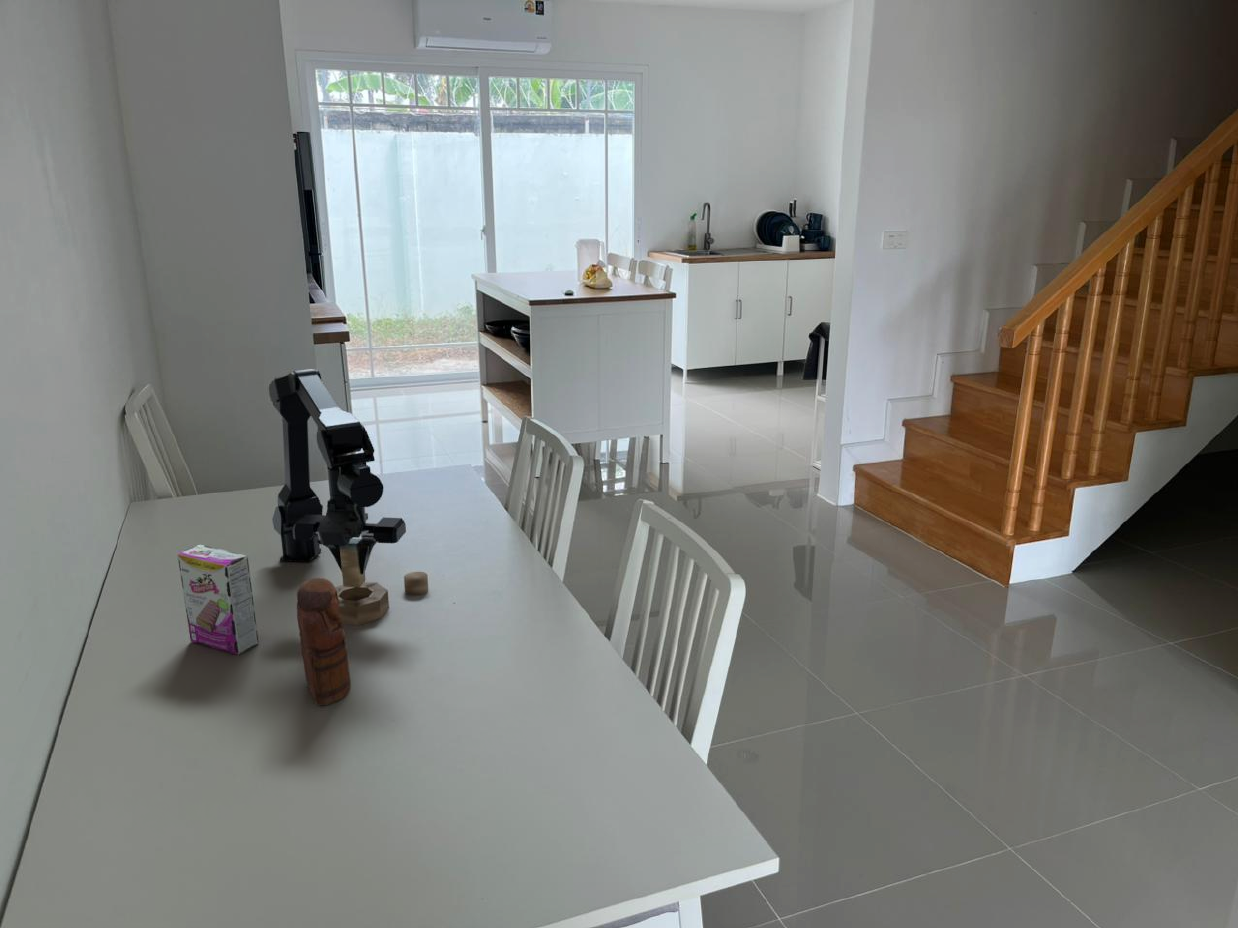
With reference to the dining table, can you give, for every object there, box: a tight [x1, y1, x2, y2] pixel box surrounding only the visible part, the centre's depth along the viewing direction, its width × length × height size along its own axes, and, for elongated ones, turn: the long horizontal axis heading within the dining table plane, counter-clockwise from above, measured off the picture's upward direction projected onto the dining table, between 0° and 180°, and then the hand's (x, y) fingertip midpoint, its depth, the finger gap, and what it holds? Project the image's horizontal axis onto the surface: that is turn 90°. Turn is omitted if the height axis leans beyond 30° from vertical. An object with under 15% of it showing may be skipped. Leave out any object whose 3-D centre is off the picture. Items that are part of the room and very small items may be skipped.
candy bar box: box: [177, 544, 259, 656], centre depth 157 cm, size 11×5×16 cm, turn 65°
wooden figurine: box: [296, 577, 351, 706], centre depth 144 cm, size 12×6×18 cm, turn 26°
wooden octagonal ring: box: [334, 581, 390, 626], centre depth 171 cm, size 10×10×4 cm
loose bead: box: [403, 571, 429, 596], centre depth 180 cm, size 4×4×3 cm
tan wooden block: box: [340, 538, 366, 587], centre depth 169 cm, size 3×3×8 cm
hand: (353, 573), depth 169 cm, fingers closed on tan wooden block, 3 cm apart
